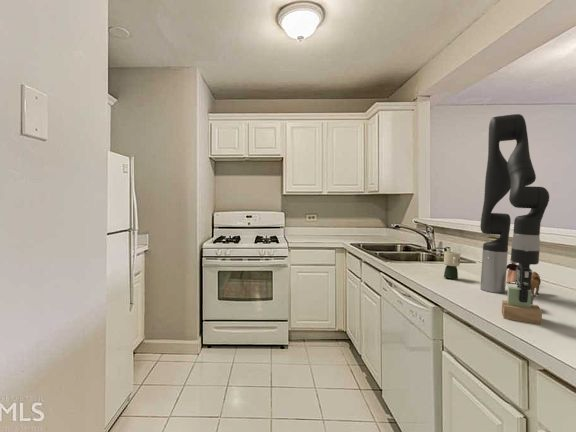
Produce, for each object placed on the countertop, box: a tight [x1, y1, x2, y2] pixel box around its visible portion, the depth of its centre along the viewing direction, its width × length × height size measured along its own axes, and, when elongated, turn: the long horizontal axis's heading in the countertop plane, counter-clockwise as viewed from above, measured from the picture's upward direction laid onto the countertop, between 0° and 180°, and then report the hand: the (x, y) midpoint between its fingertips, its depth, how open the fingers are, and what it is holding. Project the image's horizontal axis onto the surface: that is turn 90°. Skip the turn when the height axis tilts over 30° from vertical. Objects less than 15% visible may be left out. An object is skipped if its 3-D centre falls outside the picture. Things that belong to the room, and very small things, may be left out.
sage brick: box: [506, 285, 531, 308], centre depth 114 cm, size 6×4×6 cm, turn 63°
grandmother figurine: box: [506, 257, 518, 283], centre depth 166 cm, size 8×4×13 cm, turn 76°
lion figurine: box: [526, 271, 542, 298], centre depth 145 cm, size 15×5×9 cm, turn 140°
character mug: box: [443, 250, 461, 280], centre depth 171 cm, size 11×7×13 cm, turn 169°
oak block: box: [501, 300, 543, 325], centre depth 114 cm, size 8×10×4 cm
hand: (521, 299), depth 114 cm, fingers open, 6 cm apart
